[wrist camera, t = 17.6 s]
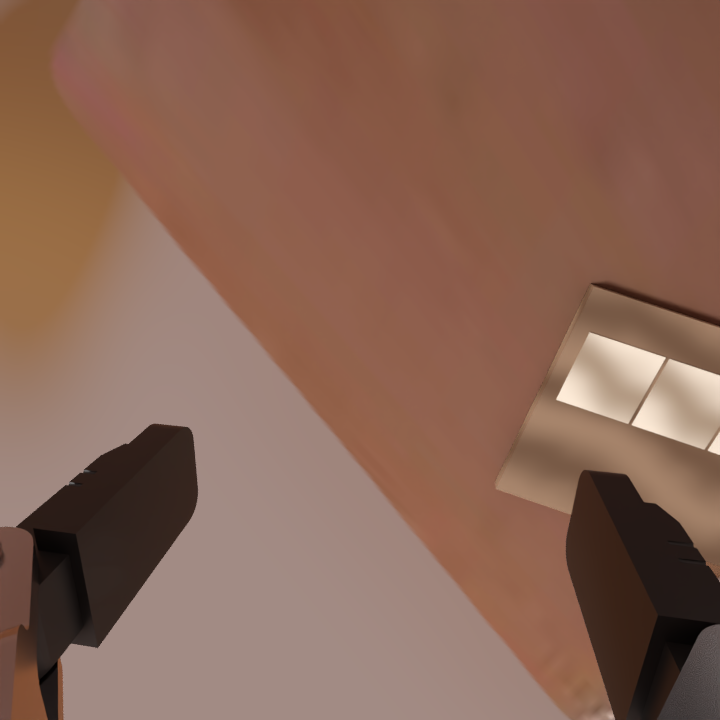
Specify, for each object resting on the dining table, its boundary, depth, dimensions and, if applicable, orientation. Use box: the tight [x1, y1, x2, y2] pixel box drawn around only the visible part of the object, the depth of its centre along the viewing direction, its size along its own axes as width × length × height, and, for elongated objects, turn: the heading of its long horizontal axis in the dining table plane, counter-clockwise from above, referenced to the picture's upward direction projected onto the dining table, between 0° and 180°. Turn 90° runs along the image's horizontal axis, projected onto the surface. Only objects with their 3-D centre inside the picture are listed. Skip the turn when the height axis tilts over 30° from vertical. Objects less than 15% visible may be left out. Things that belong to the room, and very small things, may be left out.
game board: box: [495, 284, 720, 566], centre depth 40 cm, size 18×26×1 cm
